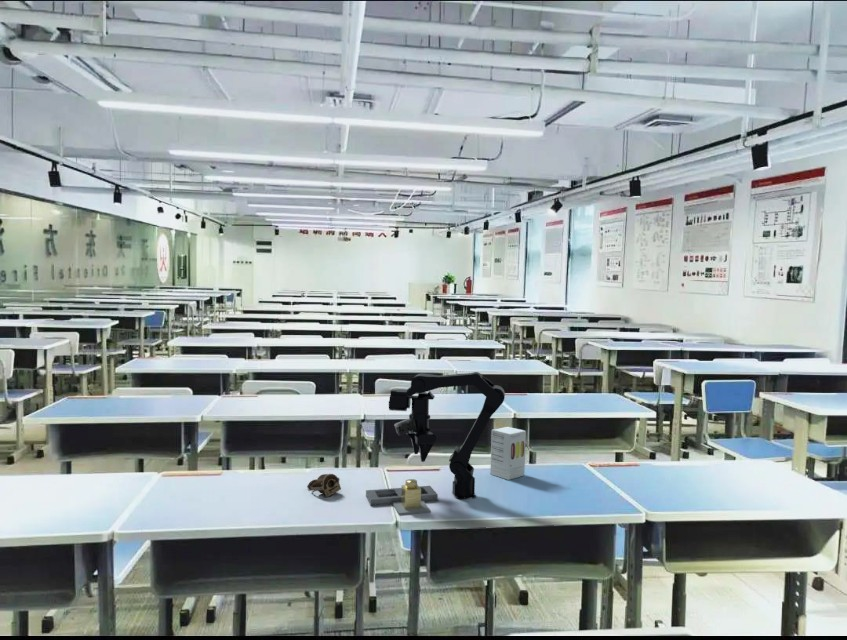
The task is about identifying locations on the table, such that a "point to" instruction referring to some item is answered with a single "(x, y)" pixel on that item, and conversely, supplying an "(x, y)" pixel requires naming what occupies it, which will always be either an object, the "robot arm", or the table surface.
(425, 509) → the mat
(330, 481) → the brown piece
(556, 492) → the table surface
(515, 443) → the supplement box
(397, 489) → the rectangular frame with openings
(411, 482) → the brass cube with knob
